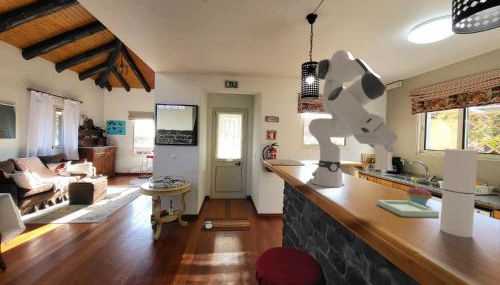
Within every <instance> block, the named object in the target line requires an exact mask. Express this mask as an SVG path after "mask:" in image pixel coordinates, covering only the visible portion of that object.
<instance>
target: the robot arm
mask: <svg viewBox="0 0 500 285" xmlns="http://www.w3.org/2000/svg"><path fill="white" fill-rule="evenodd" d="M315 74H316V78H317V79H319V80H325V81H324V86H323V92H322V109H323V110H324V111H325V112H327V113H329V114H330V116H331V118H322V117H320V118H313V119H311V121H309V124H308V131H309V133H310V135H311V136H313V138H314V139H315V140H316V141H317V142H318V147H319V160H318V164H317V166H318V167H317V168H316V169H315V170H314V171H313V172H312V173H311V176H312V178H309V181H310V180H311V181H310V182H311V184H312V183H313V184H312V185H315V184H316V186H321V187H330V188H340V187H343V186H345V183H344V182H343V171H342V170H341V148H340V146H339V145H338V144H336V143H334V142H332V140H331V138H337V139H338V138H339V139H341V138H349V137H352V136H353V138H354V139H355V140H356V141H357V142H358V143H359V144H362V145H363V144H364V145H367V146H369V147H371V148H372V149H374V144H375V145H384V146H386V147H387V149H386V150H387V151H388V152H390V153H393V154H394V152H395V151H396V149H395V147H394V148H393V146H392V144H394V143H395V144H396V142H397V141H398V139H399V138H398V135H397V133H396V132H395V130H394V129H393V128H392V127H390V125H389V124H388V123H386V122H385V118H384V117H383V116H382V115H378V114H375V113H371V112H370V111H368V110H367V108H365V107H364V106H366V105H368V104H369V103H371V102H373V101H374V100H376V99H378V98H380V97H383V95H384V93H385V91H386V86H387V85H386V82H385V80H384V79H383V78H382V77H381V76H380V75H378V74H377V73H375V72H374V71H373V70H372V69H371V68H370V67H369V65H368V64H366V63H365V61H364V60H362V59H360V58H354V57H353V55H352V54H351V53H350V52H349V51H348V50H346V49H340V50H337V51H336V52H334V54H332V56H331V58H329V59H328V58H326V59H322V60H319V62H318V63H317V65H316V68H315ZM359 77H360V78H359ZM356 78H359V79H357V80H356V81H355V82H353V83H352V84H351V85H349V86H348V87H347V88H346V87H345V86H344V83H350V82H352V81H353V80H355V79H356ZM393 130H394V131H393Z"/></svg>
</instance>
